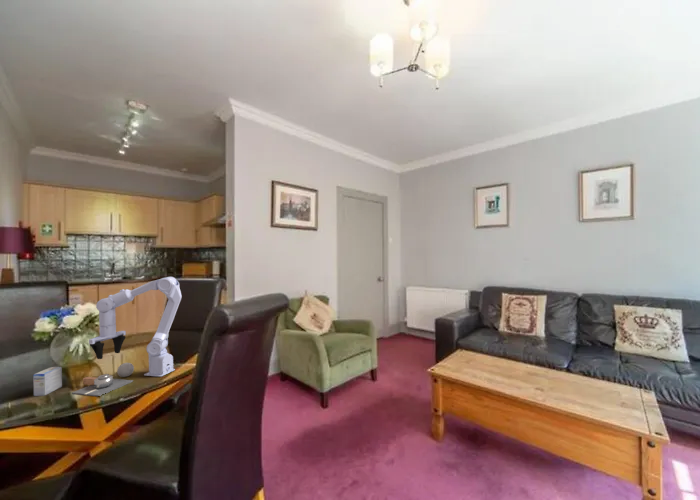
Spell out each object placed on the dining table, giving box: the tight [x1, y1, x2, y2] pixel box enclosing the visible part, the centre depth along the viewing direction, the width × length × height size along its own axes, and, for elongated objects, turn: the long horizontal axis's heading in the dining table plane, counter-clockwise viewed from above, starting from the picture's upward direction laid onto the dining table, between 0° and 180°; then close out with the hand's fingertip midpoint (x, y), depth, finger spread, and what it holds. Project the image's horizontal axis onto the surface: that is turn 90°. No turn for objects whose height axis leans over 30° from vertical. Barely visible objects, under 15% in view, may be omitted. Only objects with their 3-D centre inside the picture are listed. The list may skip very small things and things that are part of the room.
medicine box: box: [32, 366, 63, 397], centre depth 125 cm, size 8×4×9 cm, turn 5°
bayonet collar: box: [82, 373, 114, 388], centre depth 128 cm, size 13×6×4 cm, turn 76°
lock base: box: [71, 378, 134, 397], centre depth 127 cm, size 14×14×1 cm
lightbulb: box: [116, 362, 135, 378], centre depth 141 cm, size 6×6×11 cm
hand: (108, 355), depth 136 cm, fingers open, 7 cm apart
